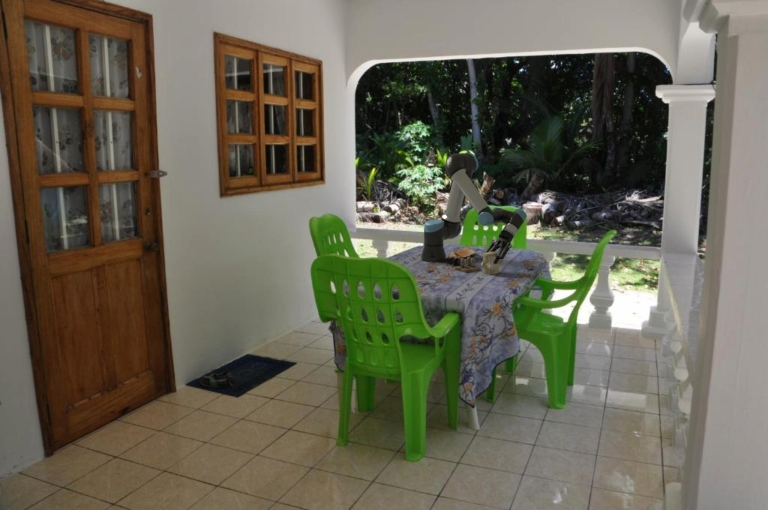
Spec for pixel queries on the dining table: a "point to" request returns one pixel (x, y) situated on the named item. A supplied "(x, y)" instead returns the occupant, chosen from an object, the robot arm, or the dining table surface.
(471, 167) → the robot arm
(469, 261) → the stand
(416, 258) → the dining table surface
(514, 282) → the dining table surface
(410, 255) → the dining table surface
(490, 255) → the beige mottled block
